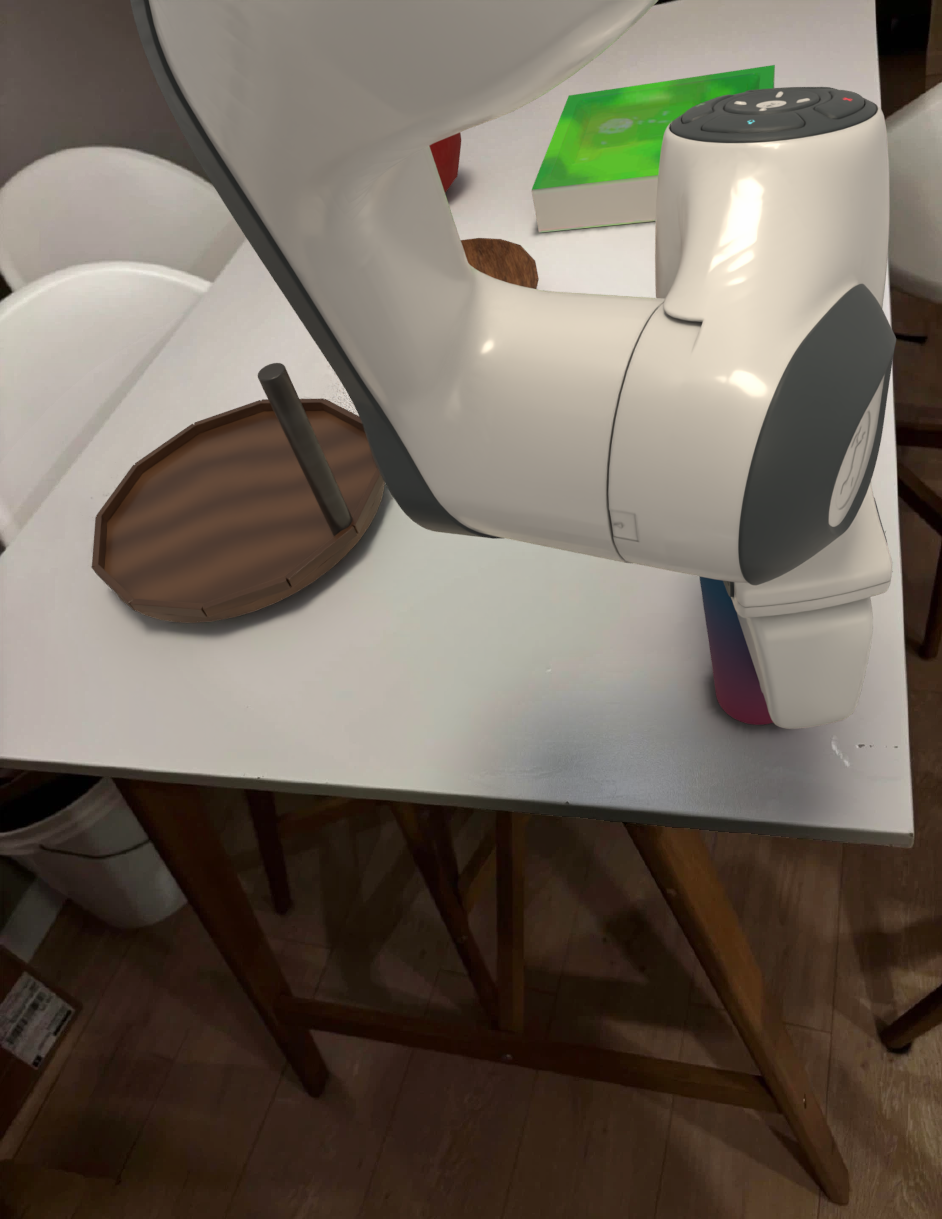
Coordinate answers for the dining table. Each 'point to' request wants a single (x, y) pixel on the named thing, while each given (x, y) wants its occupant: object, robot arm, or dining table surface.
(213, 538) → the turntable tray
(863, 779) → the dining table surface
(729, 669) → the cup
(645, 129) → the green flat block
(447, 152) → the apple
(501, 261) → the bowl
